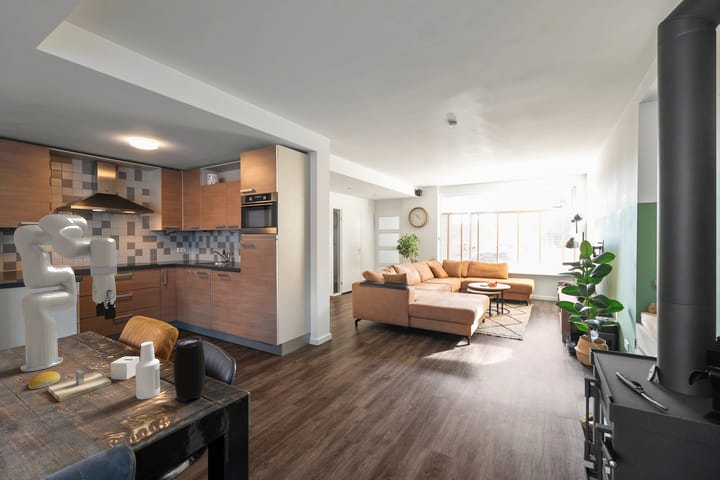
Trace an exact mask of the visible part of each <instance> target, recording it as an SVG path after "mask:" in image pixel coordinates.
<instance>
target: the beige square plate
mask: <svg viewBox="0 0 720 480" xmlns="http://www.w3.org/2000/svg"><path fill="white" fill-rule="evenodd" d="M111 385H112V379H109V378H107V377H106V376H105V375H103V374H101V373H100V372H98V371H94V372H92V373H89V374H85V372H84V371H83V370H82V369H78V370H75V378H72V379H69V380H68V379H67V380H66V381H65V380H64V381H62V382H57V383H55V384H52V385H50V386H47V391H48V393H49V394H51V395H52V396H53V397H54V398H55V399H56V400H57V401H58V402H60V403H61V402H64V401H68V400H70V399H73V398H76V397H79V396H82V395H84V394H88V393H91V392H93V391H94V392H95V391H96V390H100V389H102V388H105V387H108V386H111Z"/></svg>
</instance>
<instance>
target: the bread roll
mask: <svg viewBox="0 0 720 480" xmlns="http://www.w3.org/2000/svg"><path fill="white" fill-rule="evenodd" d="M60 380H61V375H60V373H58V372H57V371H51V370H49V371H43V372H40V373H38V374H36V375H35V376H34V377H32V378H31V379H30V381H29V383H28V388H29V390H30V389H31V390H32V389H33V390H35V389H43V388H48V386H51V385H55V384H58V383H59V381H60Z"/></svg>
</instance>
